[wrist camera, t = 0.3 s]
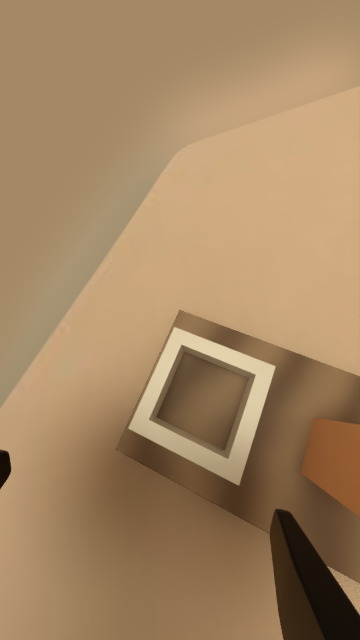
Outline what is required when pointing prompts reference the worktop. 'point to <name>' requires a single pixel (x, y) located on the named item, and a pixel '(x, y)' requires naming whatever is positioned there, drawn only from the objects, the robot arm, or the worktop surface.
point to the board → (258, 437)
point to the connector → (335, 460)
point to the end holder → (187, 444)
